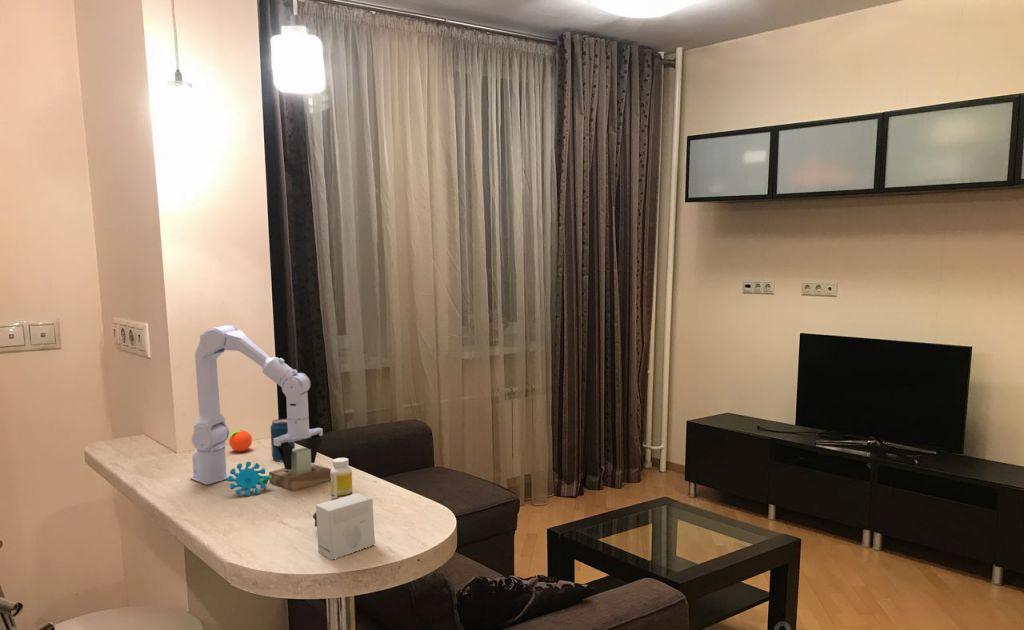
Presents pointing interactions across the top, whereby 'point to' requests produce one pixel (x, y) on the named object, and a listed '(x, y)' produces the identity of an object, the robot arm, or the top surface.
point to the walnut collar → (300, 477)
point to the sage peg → (300, 461)
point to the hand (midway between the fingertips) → (300, 465)
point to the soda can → (277, 430)
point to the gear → (248, 479)
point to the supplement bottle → (341, 478)
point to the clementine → (240, 440)
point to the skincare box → (345, 525)
